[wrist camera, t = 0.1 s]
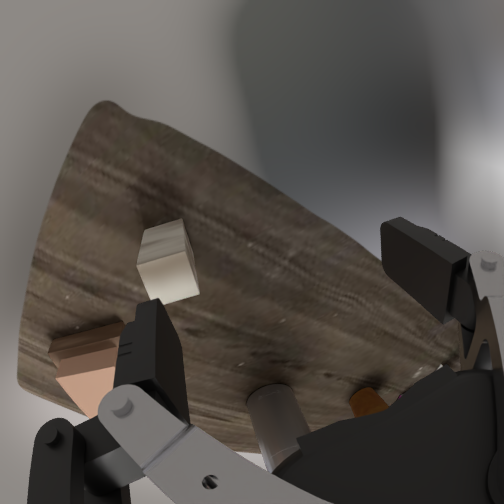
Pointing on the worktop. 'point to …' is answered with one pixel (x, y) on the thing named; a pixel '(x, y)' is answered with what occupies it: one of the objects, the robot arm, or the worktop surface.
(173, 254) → the cream block
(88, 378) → the tower top block
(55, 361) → the tower base block
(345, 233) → the worktop surface
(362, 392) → the disposable coffee cup
